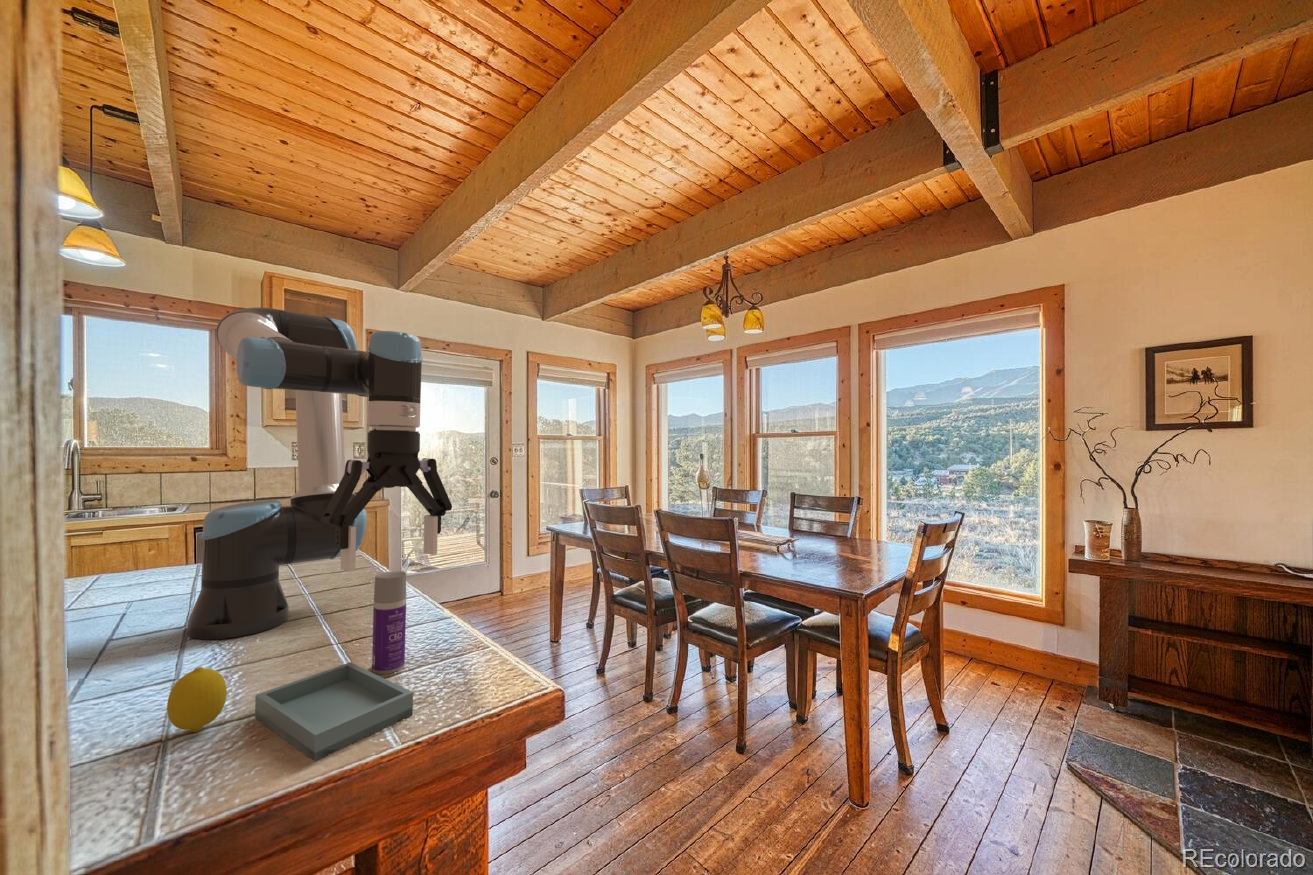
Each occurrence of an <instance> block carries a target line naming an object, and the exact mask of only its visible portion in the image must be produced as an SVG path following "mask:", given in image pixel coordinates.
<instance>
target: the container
mask: <svg viewBox="0 0 1313 875" xmlns="http://www.w3.org/2000/svg"><path fill="white" fill-rule="evenodd" d="M373 592H374V594H373V609H372V610H373V611H372V612H373V614H372V617H373V619H372V650H371V652H372V656H371V671H372V673H374V674H376V675H389V674H392V673H396V672H398V671H401V670H402V669H404V667H405V663H406V662H405V660H406V628H407V626H406V625H407V622H406V620H407V619H406V618H407V617H406V616H407V573H406V572H405V571H402V570H401V571H400V570H390V571H383V572H379V573H377V574H375V576H374V590H373Z"/></svg>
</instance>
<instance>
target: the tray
mask: <svg viewBox="0 0 1313 875" xmlns="http://www.w3.org/2000/svg"><path fill="white" fill-rule="evenodd" d="M254 701H255V702H254V703H255V704H254V705H255V706H254V708H255V709H254V718H255V719H256V720H257V721H259V722H260V723H261V724H263V725H264V726H266V727H267V728H268V729H270V730H271V731H272V732H274V733H275V734H277V735H278V736H279V737H280V738H282V739H284V740H285V741H287V743H289V744H290V745H292V746H293V747H294V748H296V749H297V750H298V751H300V752H301V753H303V754H304V755H305V756H306V757H308V758H309V759H311V760H312V761H314V762H316V761H318V760H321V759H323V758H324V757H326V756H328V755H329V756H330V755H331V754H333V753H335V752H337V751H339V750H342V749H344V748H346V747H347V746H350V745H353V744H354V743H357V742H358V741H360V740H362V739H364V738H367V737H369V736H371V735H374V734H375V733H377V732H379V731H381V730H384V729H386V728H388V727H390V726H391V725H392V726H393V725H394V724H396V723H398V722H400V721H402V720H405V719H407V718H409V717H410V716H412V715H413V713H414V712H413V711H414V710H413V708H414V703H413V702H414V692H413V691H411V690H409V689H407V688H405V687H403V686H400V684H399V685H398V684H397V683H395V682H393V681H390V680H388V679H385V677H382V676H381V675H379V674H376V673H374V672H373V671H372V672H371V671H370V670H367V669H365V668H364V667H361V666H359V665H357V664H356V663H353V662H347V663H344V664H340V665H338V666H334V667H333V668H329V669H327V670H324V671H321V672H318V673H315V674H313V675H310V676H307V677H306V676H305V677H303V678H300V679H298V680H295V681H292V682H289V683H287V684H283V685H281V686H277V687H275V688H272V689H270V690H266V691H263V692H260V693H257V694H255V700H254Z"/></svg>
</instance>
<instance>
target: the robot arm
mask: <svg viewBox="0 0 1313 875" xmlns="http://www.w3.org/2000/svg"><path fill="white" fill-rule="evenodd" d="M215 333H216V334H215V336H216V340H217V343H218V344H219V345H220V347H221V348H222V350H224V352H226V354H228V355H230V356H231V357H233V358H235V359H236V373H237V379H238V381H239V382H240V384H242V385H243V386H247V387H253V388H261V389H265V390H275V389H276V390H290V391H291V390H292V391H295V414H296V416H295V418H296V420H295V421H296V443H297V444H296V445H297V446H296V448H297V467H298V468H297V469H298V470H297V472H298V474H297V475H298V490H297V491H296V492H295V493H294V494H293V495H292V496H291V497H290V506H283V505H282V504H281V501H280V500H277V499H267V500H254V501H253V500H252V501H246V502H241V503H236V504H235V503H234V504H230V505H226V506H222V507H218V508H216V509H213V510H211V511H209V512H208V513H207V514H206V515H205V516H204V519H203V525H202V534H201V536H200V540H202V556H201V557H202V558H201V575H200V576H201V583H200V592H199V594H198V596H197V599H196V601H195V603H194V605H193V608H192V610H191V613H190V615H189V618H188V620H187V627H186V628H187V629H186V630H187V633H186V634H187V636H188V637H190V638H193V639H198V640H222V639H230V638H232V639H233V638H238V637H243V636H249V635H253V634H257V633H262V632H264V631H268V630H270V629H273V628H275V627H278V626H280V625H282V624H283V623H285V622H287V620H288V619H289V617H290V616H289V615H290V614H289V613H290V610H289V608H290V607H289V603H288V601H287V598H286V596H285V592H284V591H283V588H282V585H281V583H280V579H279V578H280V566H285V565H292V564H300V563H308V562H314V561H315V562H316V561H322V560H334V559H336V558H340V570H343V571H346V572H350V573H351V572H355V571H356V557H357V556H356V552H357V551H358V550H359V549H360V547H361V545H362V543H363V541H364V537H365V534H366V530H367V519H368V518H367V510H366V507H367V505H368V503H370V501H371V500H372V499H373V498H374V496H376V494H377V493H378V492H380V491H381V490H382V489H383V488H385V489H389V488H390V489H391V488H395V487H399V488H403V487H404V488H407V489H409V491H410V492H411V493H412V494H413V495H414V496H415V498H416V499H417V500H418V502H419V503H420V504H421V505H422V506H423V508H424V509H425V510H426V511H427V513H428V514H425V515H423V554H427V555H430V556H435V555H438V535H439V534H441V531H442V517H443V516H445V515H446V514H447V512H449V511H451V510H452V508H453V504H452V503H451V499H450V497H449V496H448V493H447V491H446V488H445V486H444V484H443V482H442V480H441V477H440V474H439V473H438V467H437V466H438V465H437V460H436V459H435V458H428V457H427V458H425V457H423V458H422V459H420V458H419V454H420V450H421V433H420V432H419V431H417V428H418V429H419V427H421V397H422V396H421V394H422V393H421V390H422V368H423V367H422V362H423V356H422V342H421V339H420V338H419V337H418V336H417V335H415V334H411V333H409V332H408V333H407V332H402V331H395V330H393V331H392V330H379V331H375V332H373V333H371V334H370V337H369V345H368V348H367V349H368V350H367V351H365V350H358V342H357V339H356V336H355V333H354V331H353V329H352V327H351V325H349V324H348V323H347V322H345V321H344V320H341V319H335V318H333V317H329V316H325V315H324V316H323V315H321V316H319V315H314V314H308V313H301V312H297V311H296V312H295V311H290V310H284V309H277V308H272V307H248V308H241V309H238V310H235V311H231V312H229V313H227V314H226V315H224V316H223V317H222V318H221V319H220V320H219V322H218V323H217V326H216V329H215ZM342 395H354V396H355V395H356V396H358V397H364V398H366V397H368V404H367V405H368V408H367V411H368V412H367V425H368V427H371V430H369V431H368V432H367V446H366V447H367V450H366V451H367V456H368V457H367V460H366V461H361V460H359V459H348V460H346V457H345V436H344V434H345V433H344V419H343V418H344V417H343V414H344V412H343V397H342ZM419 470H420V471H421V472H422V475H423V478H424V480H425V483H426V484H427V487H428V489H429V491H430V492H429V491H428V489H427V488H426V487H425V486H424V485H423V481H422V480H421V479H420V477H419V476H418V474H417V473H418V472H419ZM365 472H367V473H368V474H369V476H368V477H367V478H366V479H365V481H364V482H363V483H362V486H361V487H360V489H359V490H358V491H357V493H355V492H354V491H355V489H356V486H357V485H358V483H359V481H360V480H361V476H362V475H363V474H365Z"/></svg>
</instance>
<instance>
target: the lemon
mask: <svg viewBox="0 0 1313 875" xmlns="http://www.w3.org/2000/svg"><path fill="white" fill-rule="evenodd" d="M227 693H228V692H227V685H226V681H225V679H224V677H223V675H222V674H221V673H220V672H219V671H217V670H215V669H211V668H205V667H203V666H199V667H195V668H194V669H193V670H191V671H190V672H188V673H186V674H184V675H182V677H180V678H179V679H178V680H177V681H176V682H175V684H174V685H173V686H172V688H171V690H170V692H169V695H168V697H167V698H168V699H167V703H166V705H167V708H166V710H167V717H168V720H169V722H170V723H171V724H172V725H173V726H174V727H175V728H177V729H180V730H185V731H191V732H193V733H198V732H200V731H201V730H202V729H203V728H204V727H205V726H208V725H209V724H210V723H212V722H214V720H215V719H216V718H218V716H219V715H220V714H221V712H222V711H223V709H224V707H225V704H226V700H227V695H228V694H227Z"/></svg>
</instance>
